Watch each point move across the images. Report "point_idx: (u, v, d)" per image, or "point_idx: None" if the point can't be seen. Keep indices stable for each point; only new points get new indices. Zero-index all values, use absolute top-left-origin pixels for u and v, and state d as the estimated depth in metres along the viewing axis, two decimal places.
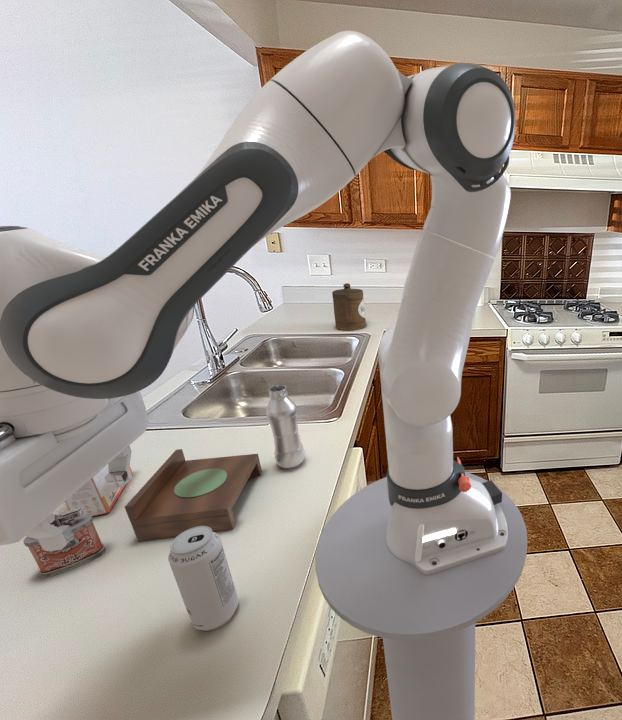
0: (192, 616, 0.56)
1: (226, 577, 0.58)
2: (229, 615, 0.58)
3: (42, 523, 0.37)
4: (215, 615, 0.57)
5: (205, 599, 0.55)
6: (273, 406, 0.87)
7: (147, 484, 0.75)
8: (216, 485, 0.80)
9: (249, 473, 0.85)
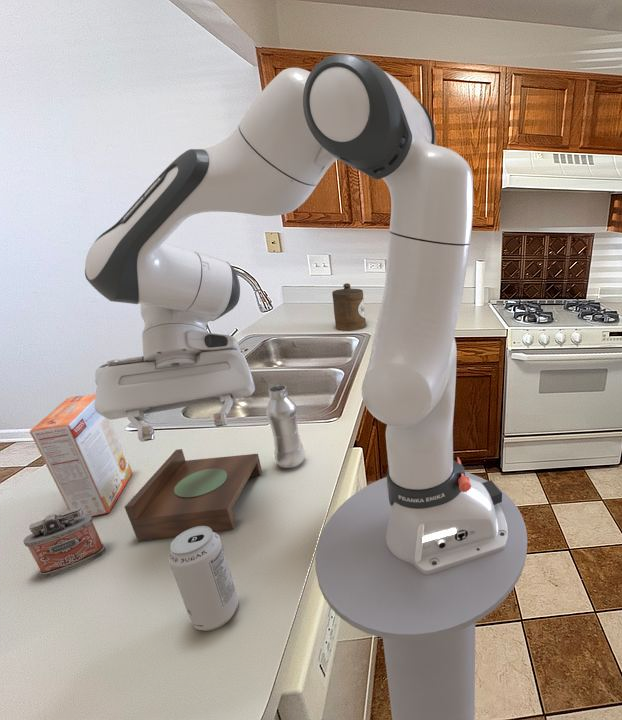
0: (192, 616, 0.56)
1: (226, 577, 0.58)
2: (229, 615, 0.58)
3: (128, 413, 0.58)
4: (215, 615, 0.57)
5: (205, 599, 0.55)
6: (273, 406, 0.87)
7: (147, 484, 0.75)
8: (216, 485, 0.80)
9: (249, 473, 0.85)
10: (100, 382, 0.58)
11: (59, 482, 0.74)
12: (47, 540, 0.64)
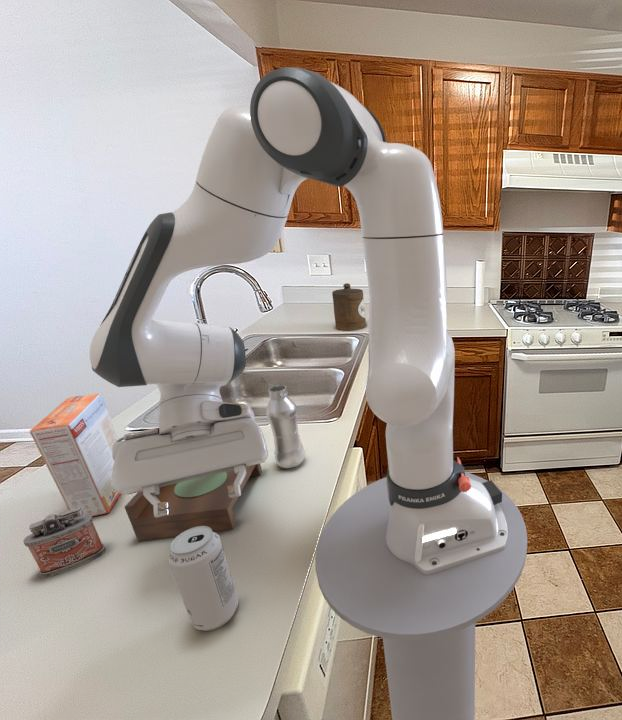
0: (192, 616, 0.56)
1: (226, 577, 0.58)
2: (229, 615, 0.58)
3: (144, 490, 0.59)
4: (215, 615, 0.57)
5: (205, 599, 0.55)
6: (273, 406, 0.87)
7: None
8: (216, 485, 0.80)
9: (249, 473, 0.85)
10: (117, 459, 0.59)
11: (59, 482, 0.74)
12: (47, 540, 0.64)
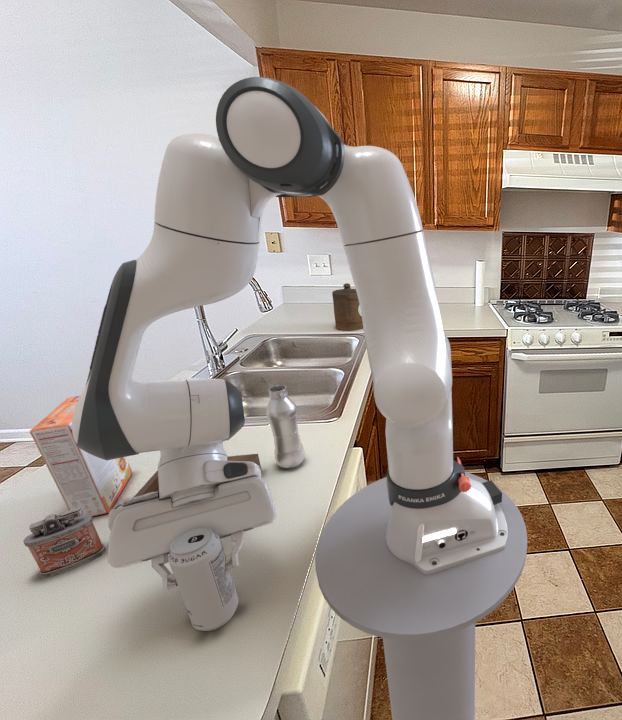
0: (192, 616, 0.56)
1: (226, 577, 0.57)
2: (229, 615, 0.58)
3: (152, 561, 0.55)
4: (215, 615, 0.57)
5: (205, 600, 0.55)
6: (273, 406, 0.87)
7: (147, 484, 0.75)
8: None
9: None
10: (113, 530, 0.54)
11: (59, 482, 0.74)
12: (47, 540, 0.64)
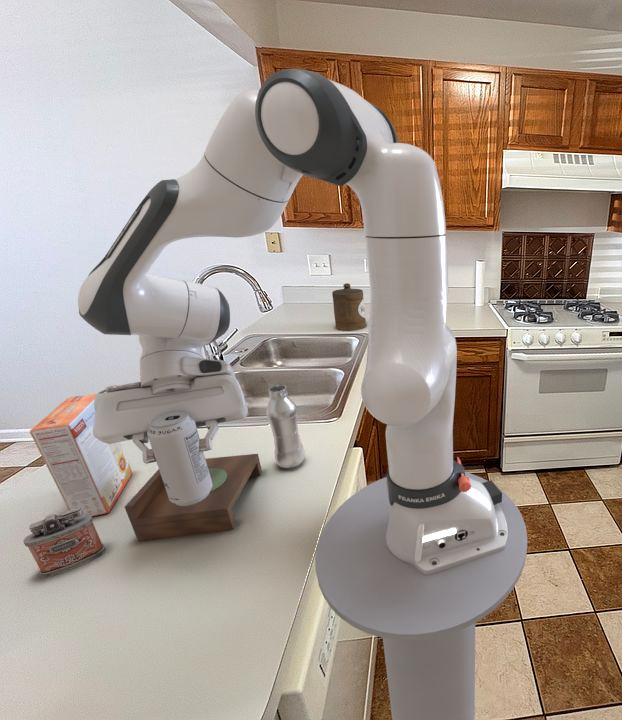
0: (169, 490, 0.63)
1: (201, 457, 0.64)
2: (203, 493, 0.65)
3: (133, 437, 0.61)
4: (190, 489, 0.63)
5: (181, 473, 0.62)
6: (273, 406, 0.87)
7: (147, 484, 0.75)
8: (216, 485, 0.80)
9: (249, 473, 0.85)
10: (98, 408, 0.61)
11: (59, 482, 0.74)
12: (47, 540, 0.64)
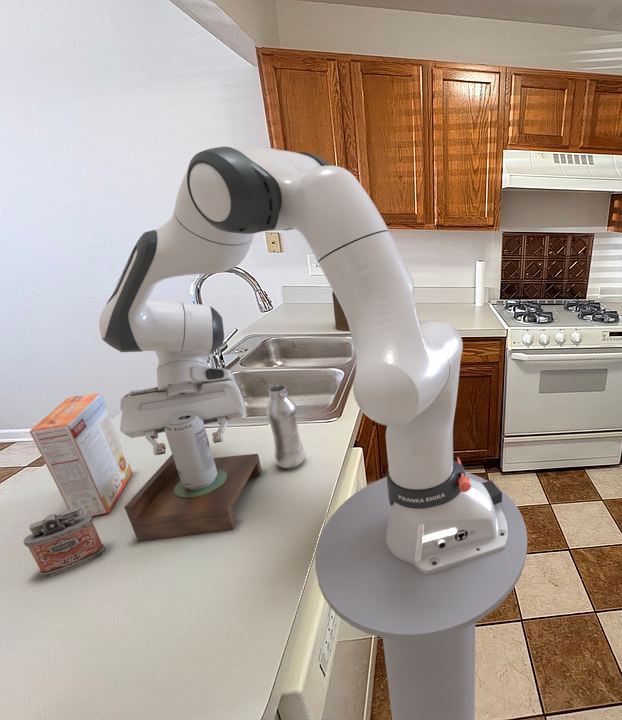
0: (182, 476, 0.77)
1: (208, 450, 0.78)
2: (210, 480, 0.79)
3: (146, 433, 0.75)
4: (199, 476, 0.77)
5: (192, 462, 0.76)
6: (273, 406, 0.87)
7: (147, 484, 0.75)
8: (216, 485, 0.80)
9: (249, 473, 0.85)
10: (124, 409, 0.75)
11: (59, 482, 0.74)
12: (47, 540, 0.64)
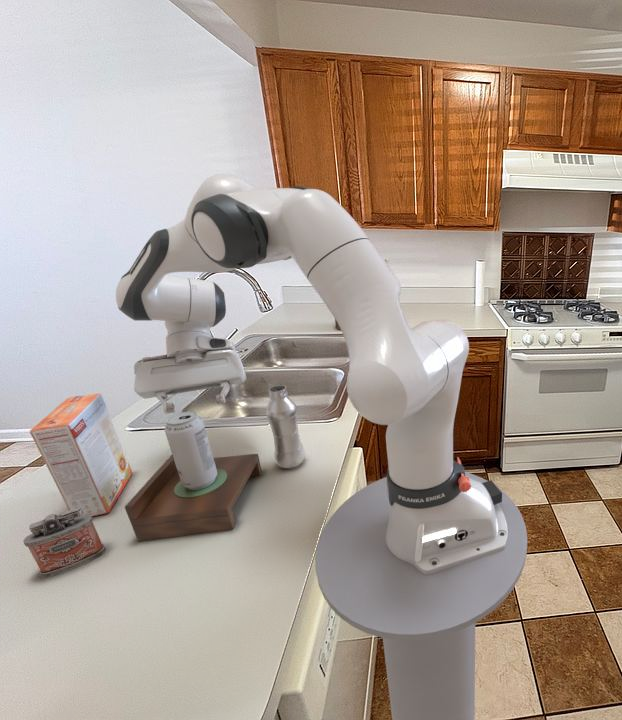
0: (182, 476, 0.77)
1: (208, 450, 0.78)
2: (210, 480, 0.79)
3: (157, 394, 0.84)
4: (199, 476, 0.77)
5: (192, 462, 0.76)
6: (273, 406, 0.87)
7: (147, 484, 0.75)
8: (216, 485, 0.80)
9: (249, 473, 0.85)
10: (138, 372, 0.84)
11: (59, 482, 0.74)
12: (47, 540, 0.64)
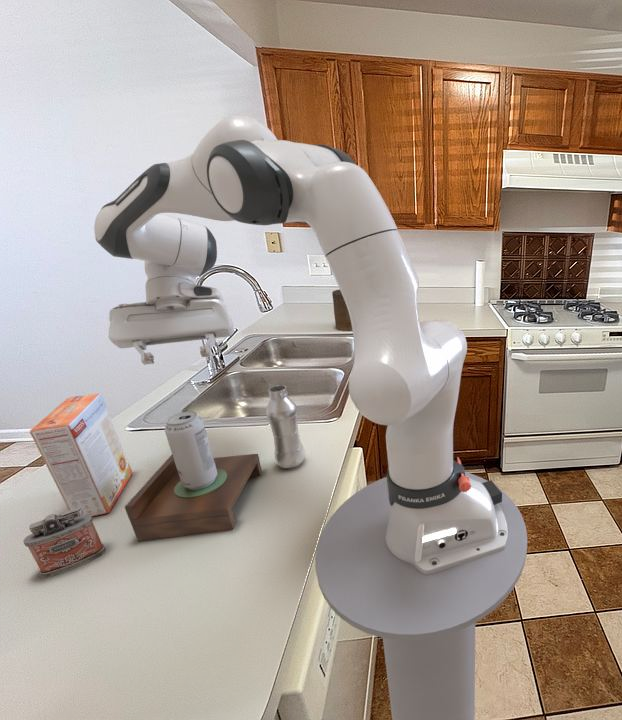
0: (182, 476, 0.77)
1: (208, 450, 0.78)
2: (210, 480, 0.79)
3: (134, 342, 0.76)
4: (199, 476, 0.77)
5: (192, 462, 0.76)
6: (273, 406, 0.87)
7: (147, 484, 0.75)
8: (216, 485, 0.80)
9: (249, 473, 0.85)
10: (113, 318, 0.76)
11: (59, 482, 0.74)
12: (47, 540, 0.64)
